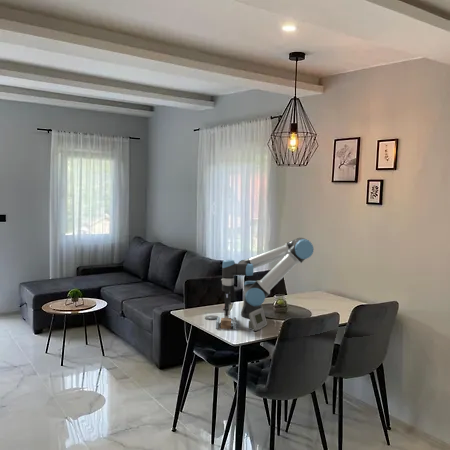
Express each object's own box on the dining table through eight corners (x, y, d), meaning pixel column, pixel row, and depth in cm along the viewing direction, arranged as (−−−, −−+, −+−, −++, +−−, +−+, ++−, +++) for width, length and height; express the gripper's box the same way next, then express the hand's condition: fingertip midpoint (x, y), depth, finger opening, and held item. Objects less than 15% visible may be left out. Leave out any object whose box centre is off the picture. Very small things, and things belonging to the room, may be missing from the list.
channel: (235, 323, 283) (236, 317, 283) (235, 329, 271) (235, 322, 271) (217, 323, 284) (217, 316, 283) (216, 328, 272) (216, 322, 271)
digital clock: (255, 332, 266) (255, 314, 266) (243, 329, 272) (243, 311, 272) (271, 326, 278) (271, 309, 278) (259, 323, 284) (260, 306, 284)
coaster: (219, 316, 299) (219, 315, 299) (218, 320, 290) (218, 319, 290) (205, 316, 299) (205, 315, 299) (204, 319, 291) (204, 318, 290)
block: (231, 326, 278) (231, 318, 278) (230, 329, 272) (230, 320, 272) (221, 325, 278) (221, 317, 278) (220, 328, 273) (220, 320, 272)
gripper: (223, 280, 301) (222, 312, 302) (220, 288, 276) (219, 322, 278) (234, 281, 301) (233, 312, 302) (232, 288, 276) (232, 323, 277)
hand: (227, 317), depth 290 cm, fingers open, 13 cm apart
